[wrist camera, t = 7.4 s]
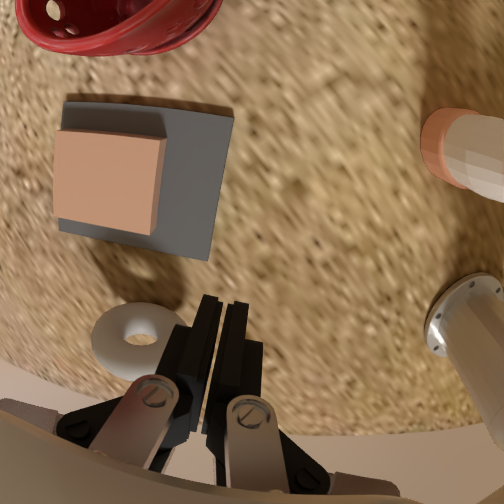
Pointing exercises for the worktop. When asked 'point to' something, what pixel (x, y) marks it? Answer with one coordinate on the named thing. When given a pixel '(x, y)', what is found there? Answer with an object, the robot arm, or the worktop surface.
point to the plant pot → (115, 25)
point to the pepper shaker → (466, 150)
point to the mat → (165, 172)
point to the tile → (108, 178)
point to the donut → (124, 325)
